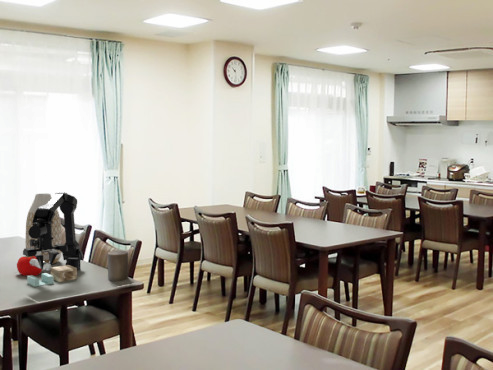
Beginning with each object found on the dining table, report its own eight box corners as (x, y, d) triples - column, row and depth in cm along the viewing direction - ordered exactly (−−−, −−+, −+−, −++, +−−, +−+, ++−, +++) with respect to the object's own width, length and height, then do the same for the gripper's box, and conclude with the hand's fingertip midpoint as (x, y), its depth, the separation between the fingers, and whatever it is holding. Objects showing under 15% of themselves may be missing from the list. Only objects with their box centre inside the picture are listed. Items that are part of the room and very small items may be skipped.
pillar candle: (132, 280, 266) (132, 249, 265) (115, 283, 259) (114, 252, 258) (120, 276, 272) (120, 246, 271) (103, 280, 265) (103, 249, 264)
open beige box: (68, 276, 270) (68, 264, 270) (77, 280, 264) (76, 268, 264) (50, 279, 264) (50, 267, 264) (59, 283, 258) (59, 271, 257)
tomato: (35, 279, 265) (34, 258, 264) (11, 277, 268) (11, 257, 267) (47, 273, 276) (47, 253, 275) (25, 272, 278) (25, 252, 278)
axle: (29, 266, 259) (29, 258, 259) (36, 265, 261) (36, 258, 261) (44, 270, 247) (44, 263, 247) (51, 270, 250) (51, 262, 250)
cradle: (46, 281, 261) (46, 272, 261) (53, 284, 255) (53, 276, 255) (27, 284, 255) (27, 275, 254) (34, 288, 249) (34, 279, 249)
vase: (51, 267, 289) (50, 196, 286) (19, 266, 292) (17, 195, 288) (68, 260, 307) (67, 193, 304) (37, 258, 310) (36, 192, 307)
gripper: (56, 230, 261) (57, 262, 262) (17, 234, 248) (18, 268, 249) (67, 233, 253) (68, 266, 254) (27, 238, 240) (28, 273, 241)
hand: (45, 268), depth 250 cm, fingers closed on axle, 3 cm apart
